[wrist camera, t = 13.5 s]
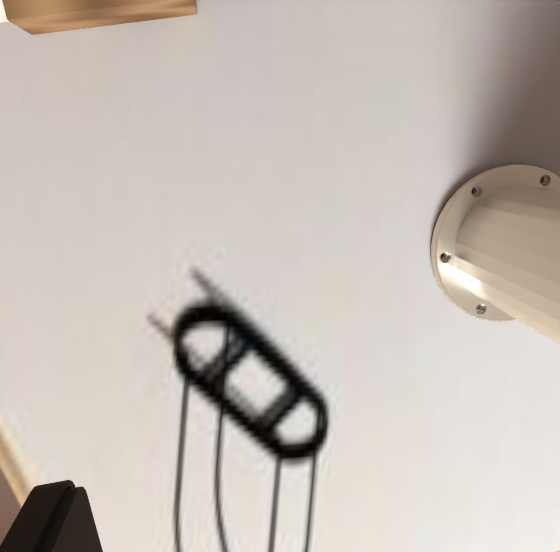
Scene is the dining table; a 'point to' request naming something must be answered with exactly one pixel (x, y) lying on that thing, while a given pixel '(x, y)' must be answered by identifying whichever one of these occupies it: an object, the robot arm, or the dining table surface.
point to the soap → (2, 13)
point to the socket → (89, 13)
